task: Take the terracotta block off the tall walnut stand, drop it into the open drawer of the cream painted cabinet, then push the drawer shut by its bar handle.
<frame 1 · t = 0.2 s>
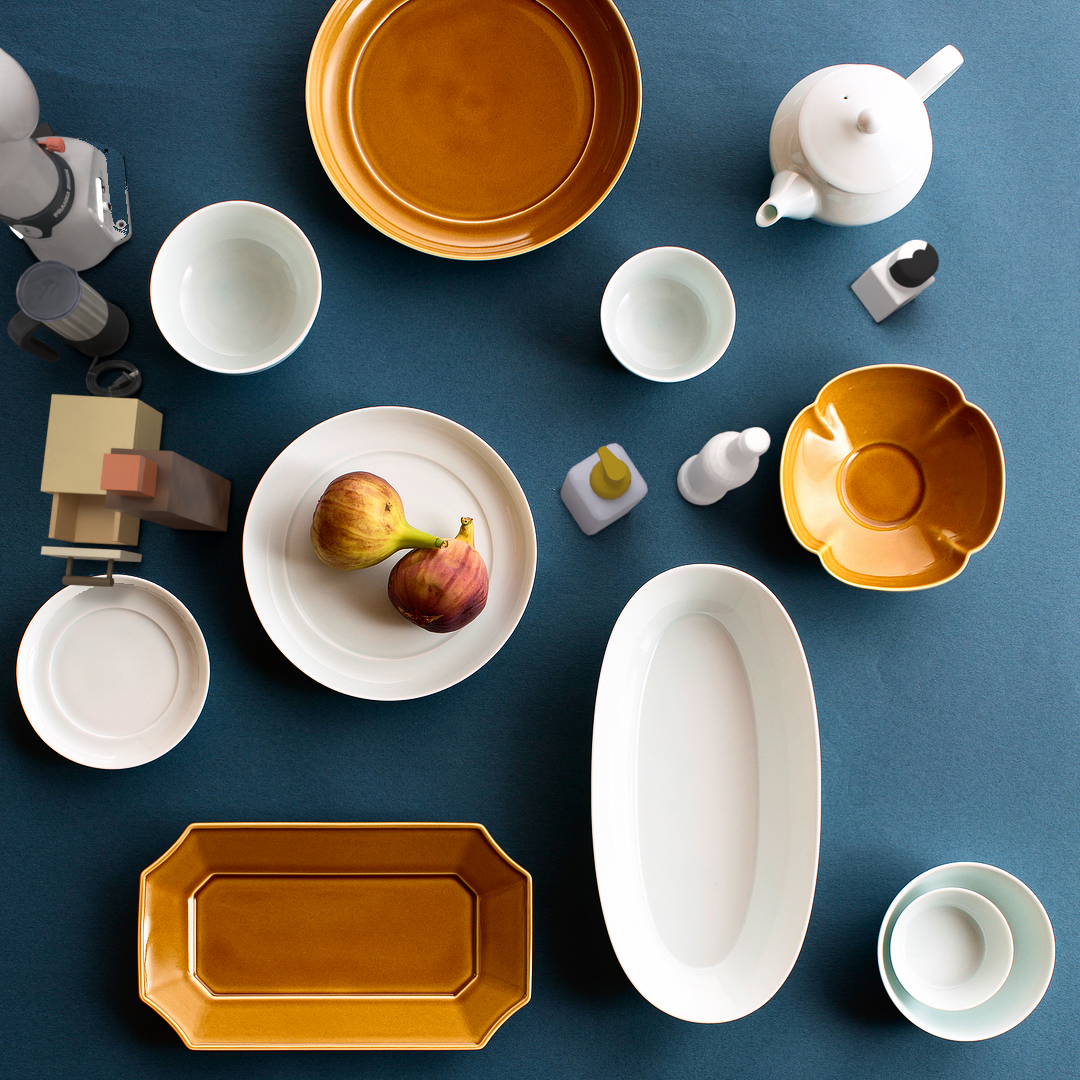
soap bottle: (594, 501, 128), on the table
drawer: (95, 527, 119), point 4 cm above the table, slide at 8.0 cm
stand: (203, 505, 125), on the table
block: (138, 479, 103), point 22 cm above the table, touching stand
milk frother: (110, 352, 127), on the table
container: (880, 293, 133), on the table
bottle: (699, 482, 129), on the table
cabinet: (118, 456, 125), on the table
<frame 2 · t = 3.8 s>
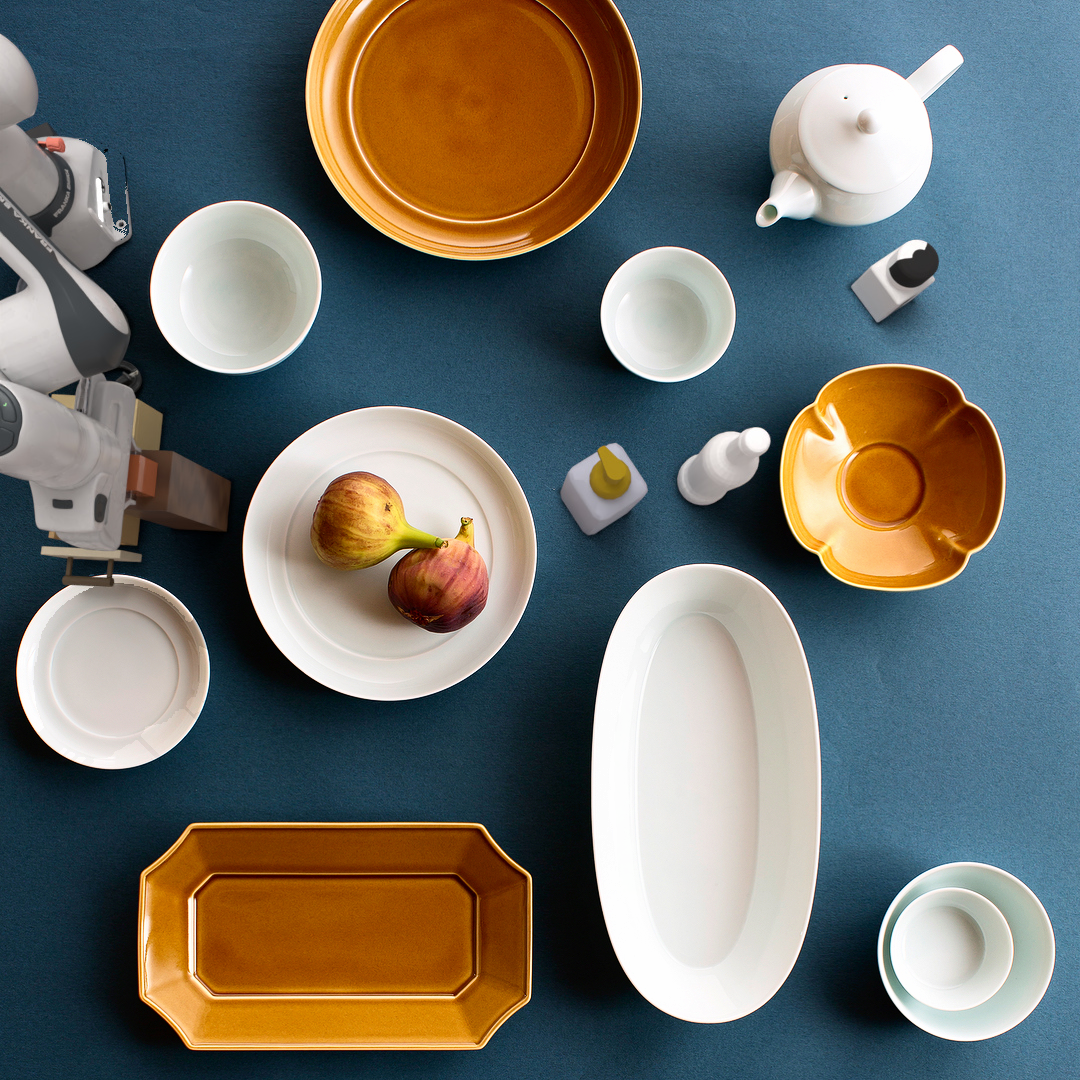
hand: (132, 477, 101), 24 cm above the table, tool pointing down, fingers closed on block, 4 cm apart
block: (138, 479, 103), point 22 cm above the table, touching gripper, stand
everything else where it was.
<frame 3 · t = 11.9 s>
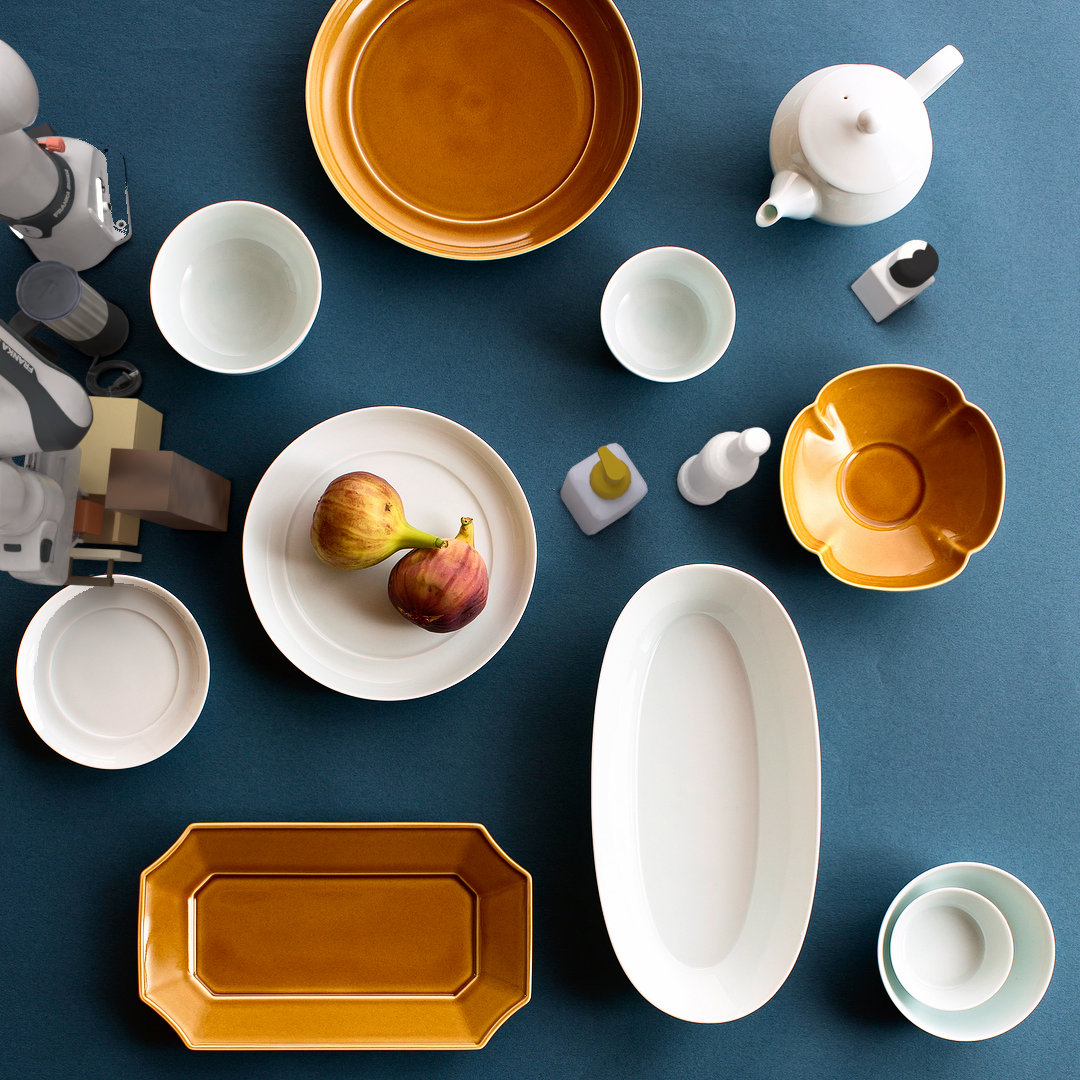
hand: (81, 518, 115), 9 cm above the table, tool pointing down, fingers closed on block, 4 cm apart
block: (87, 519, 117), point 7 cm above the table, touching gripper
everything else where it was.
when the fingers open (9 cm above the table, at t = 21.4 s): block drops 5 cm, resting on drawer.
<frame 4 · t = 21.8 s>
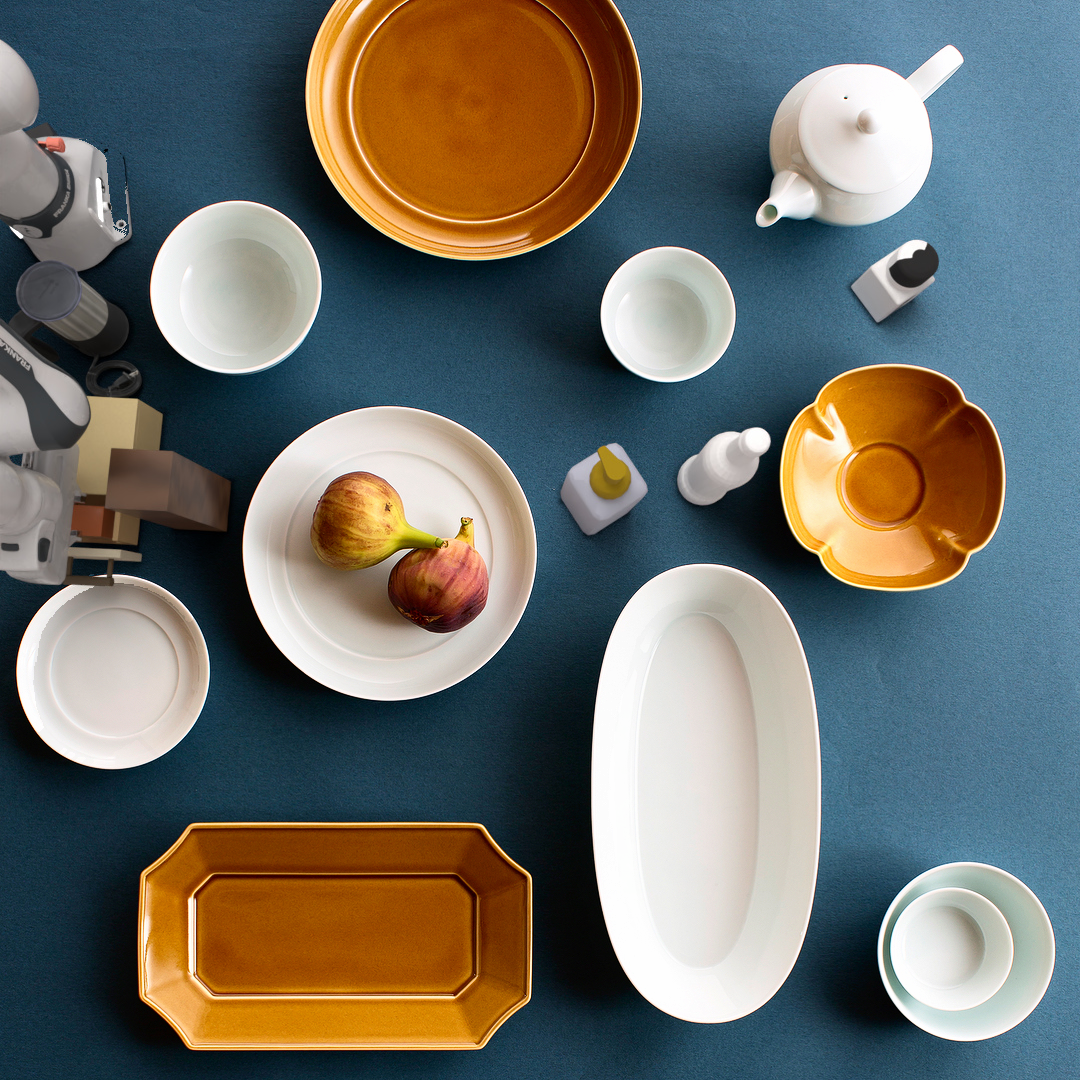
hand: (79, 517, 115), 9 cm above the table, tool pointing down, fingers open, 4 cm apart
drawer: (95, 527, 119), point 4 cm above the table, slide at 7.9 cm, touching block
block: (104, 524, 122), point 2 cm above the table, touching drawer
everything else where it was.
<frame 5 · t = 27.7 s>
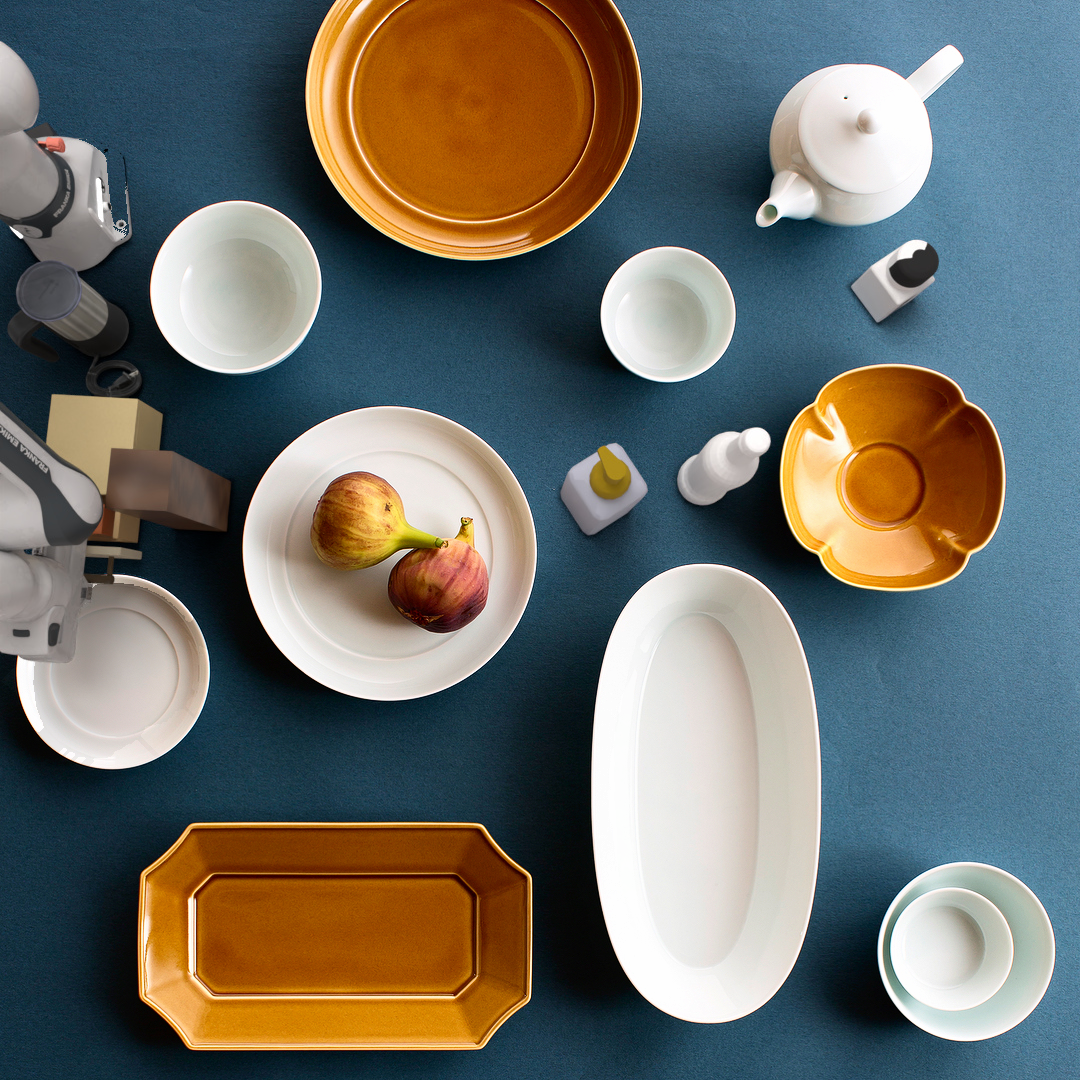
hand: (87, 593, 118), 5 cm above the table, tool pointing down, fingers closed
drawer: (96, 525, 120), point 4 cm above the table, slide at 7.6 cm, touching block
everything else where it was.
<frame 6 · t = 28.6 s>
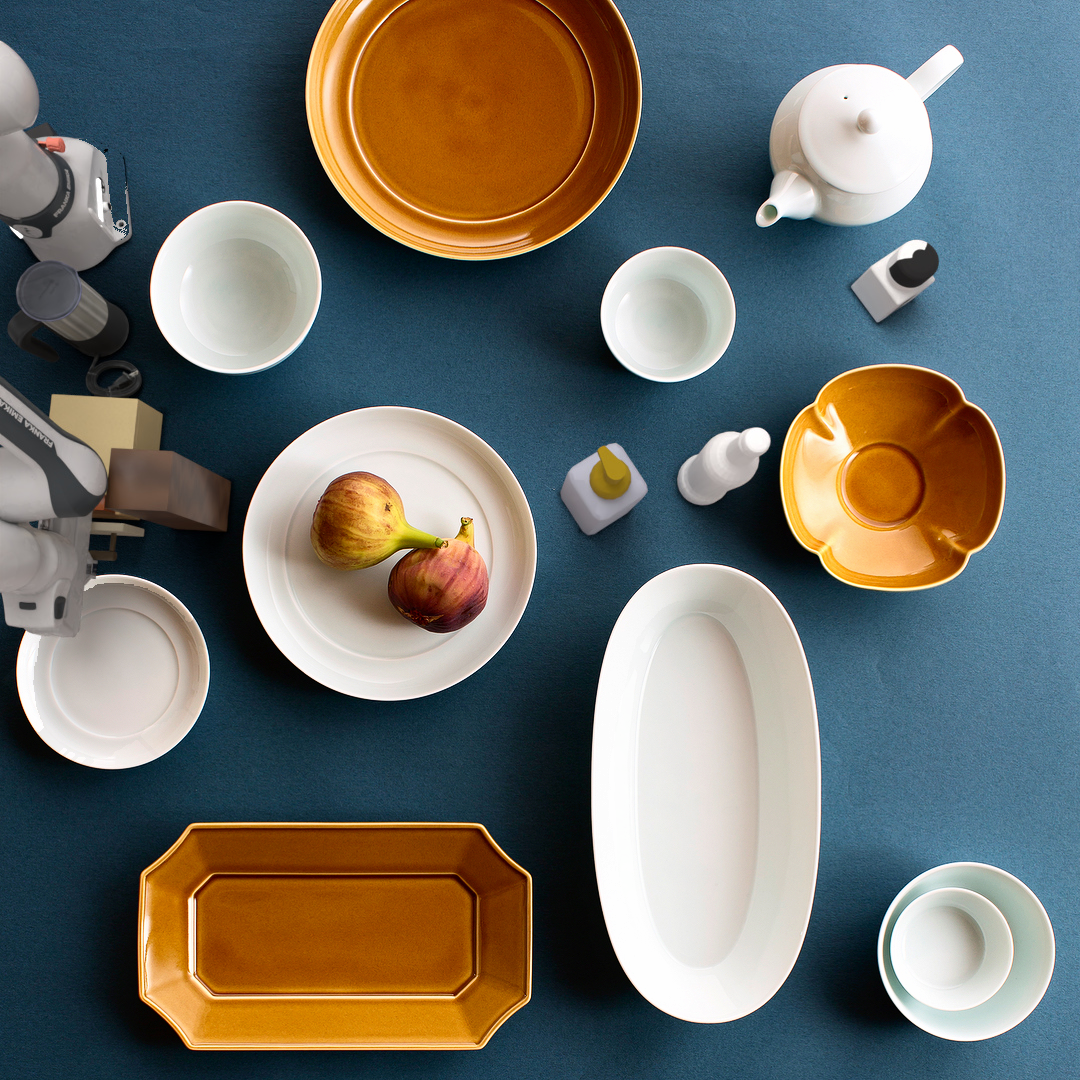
hand: (92, 569, 119), 4 cm above the table, tool pointing down, fingers closed
drawer: (98, 501, 120), point 4 cm above the table, slide at 4.0 cm, touching block, gripper
block: (106, 499, 122), point 2 cm above the table, touching drawer
everything else where it was.
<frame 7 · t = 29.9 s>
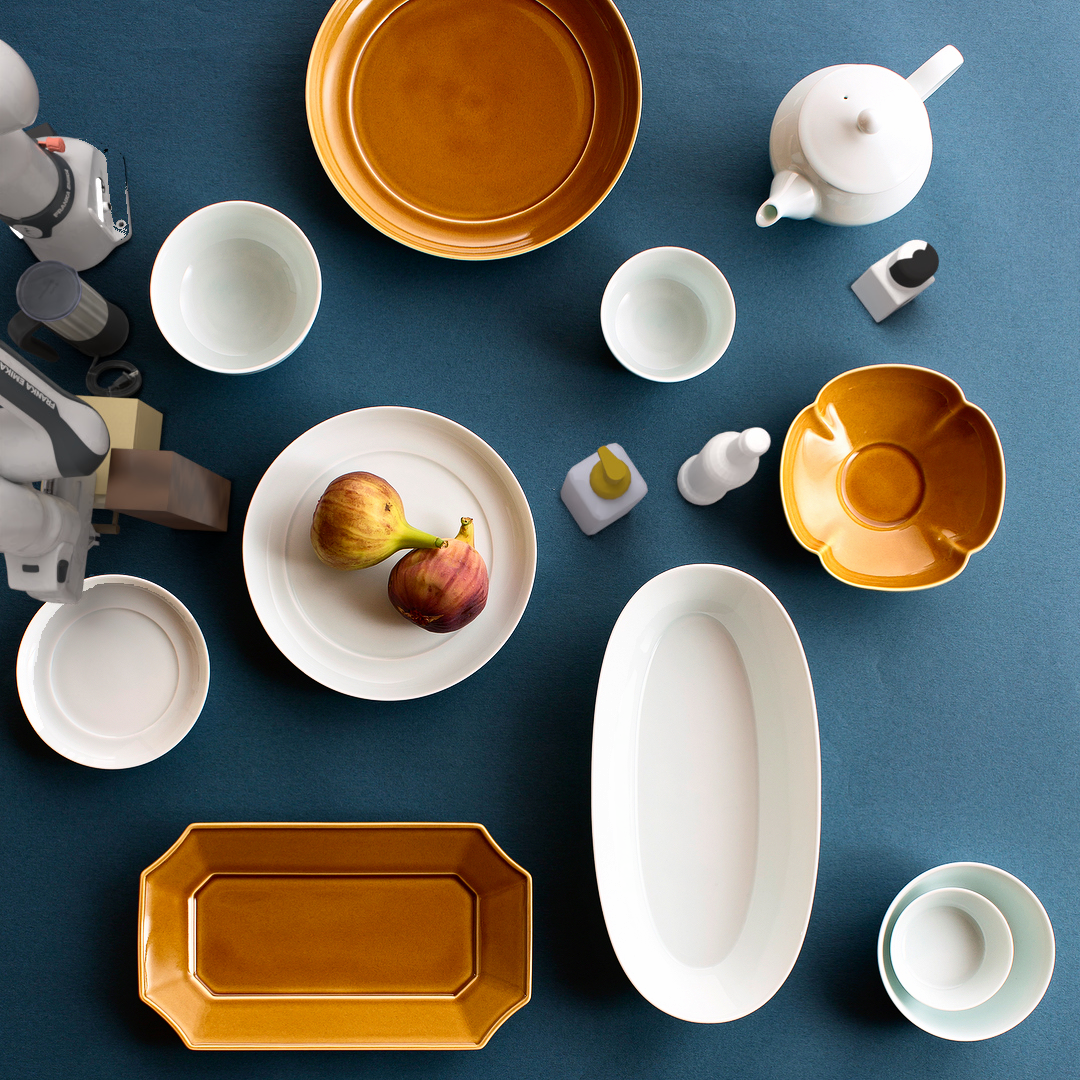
hand: (95, 539, 120), 4 cm above the table, tool pointing down, fingers closed
drawer: (101, 475, 120), point 4 cm above the table, slide at 0.0 cm, touching block, cabinet, gripper
block: (109, 473, 123), point 2 cm above the table, touching drawer
everything else where it was.
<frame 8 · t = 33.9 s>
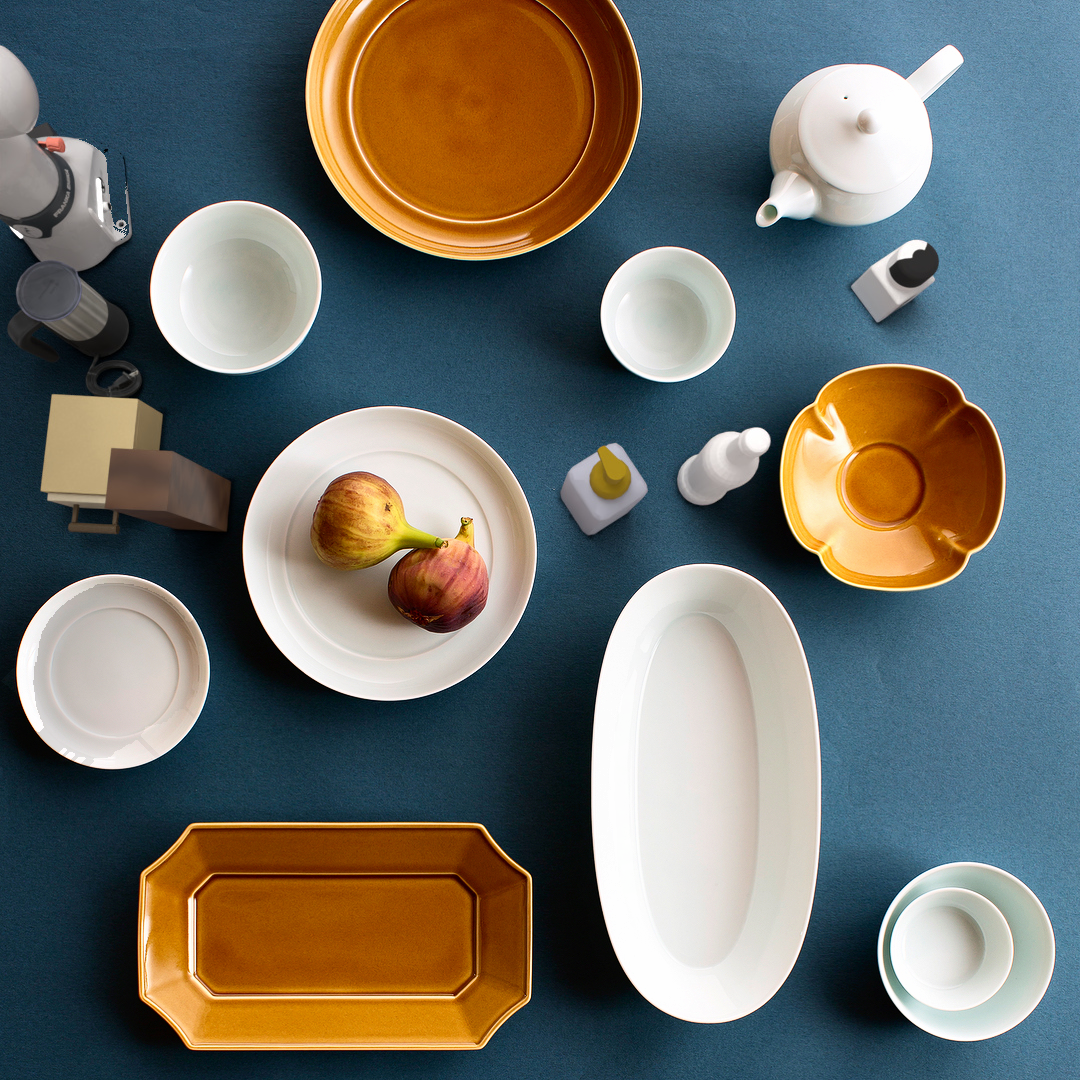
drawer: (101, 475, 120), point 4 cm above the table, slide at 0.0 cm, touching block, cabinet
everything else where it was.
at the end: drawer slide at 0.0 cm; block inside the target area in the cabinet (3.1 cm from its centre), point 2.0 cm above the cabinet's base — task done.
